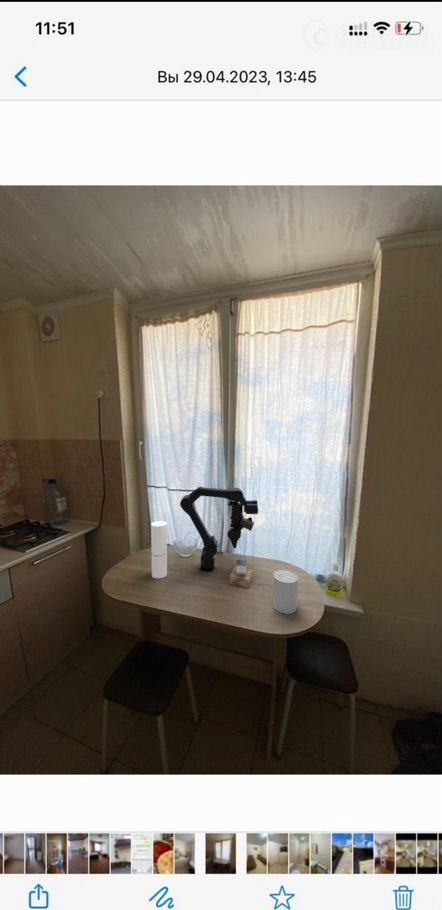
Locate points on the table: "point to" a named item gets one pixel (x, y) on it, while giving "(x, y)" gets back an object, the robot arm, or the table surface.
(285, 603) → the white cylinder
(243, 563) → the grey cube
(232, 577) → the tan block
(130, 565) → the table surface
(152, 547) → the cylindrical container
